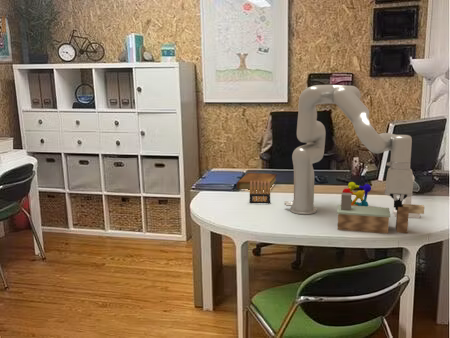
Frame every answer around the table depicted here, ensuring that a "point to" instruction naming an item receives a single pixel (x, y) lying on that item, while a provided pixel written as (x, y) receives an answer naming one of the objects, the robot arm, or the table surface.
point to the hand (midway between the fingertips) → (397, 209)
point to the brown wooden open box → (374, 222)
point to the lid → (360, 208)
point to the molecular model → (358, 193)
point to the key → (415, 208)
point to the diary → (256, 180)
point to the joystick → (408, 201)
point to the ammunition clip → (259, 193)
